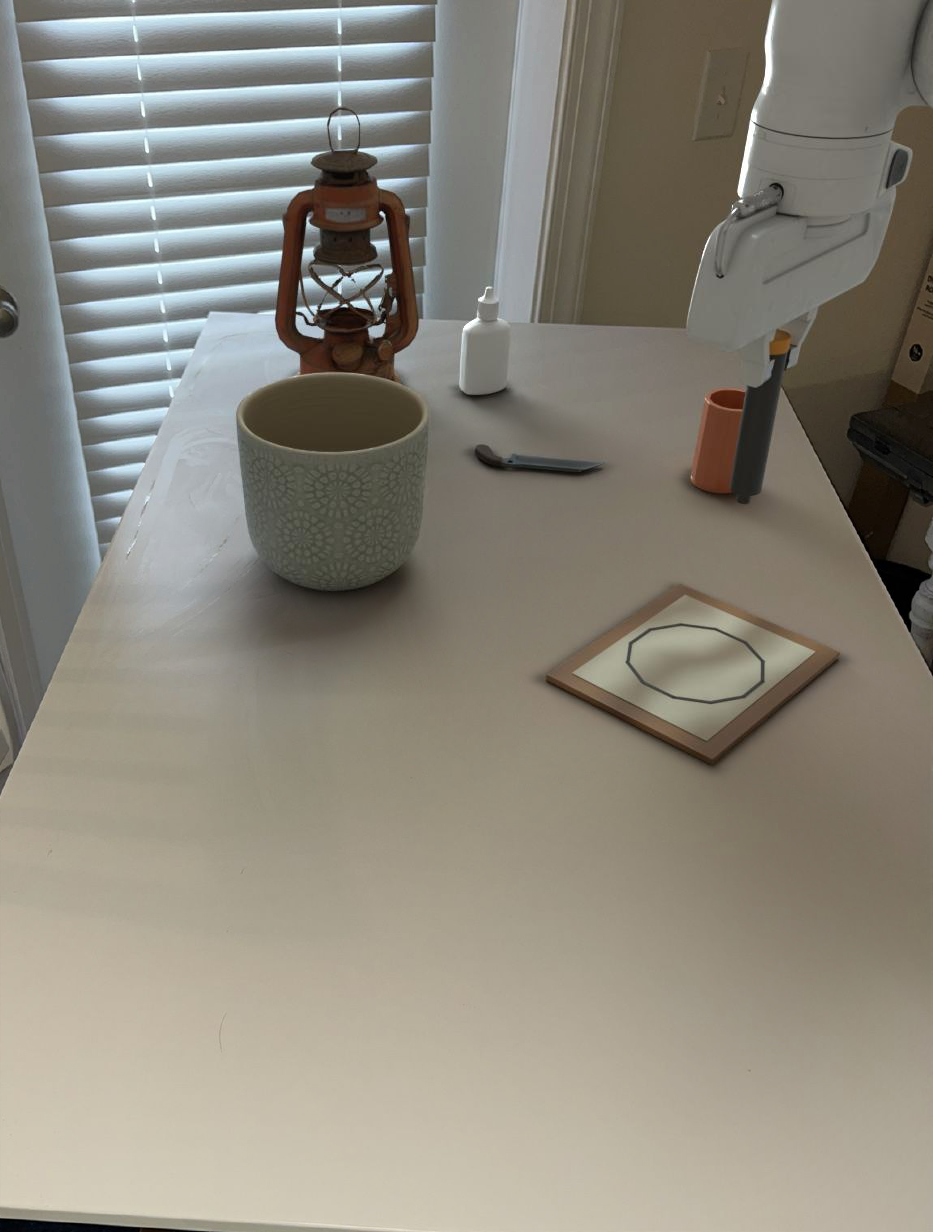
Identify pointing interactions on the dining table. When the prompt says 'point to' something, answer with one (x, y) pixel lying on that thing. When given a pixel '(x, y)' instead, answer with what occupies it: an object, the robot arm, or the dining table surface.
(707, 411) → the pen cup
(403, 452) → the planter
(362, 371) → the lantern
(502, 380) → the eye dropper bottle
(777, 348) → the marker
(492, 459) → the knife
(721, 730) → the sketch board
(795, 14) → the robot arm
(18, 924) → the dining table surface
